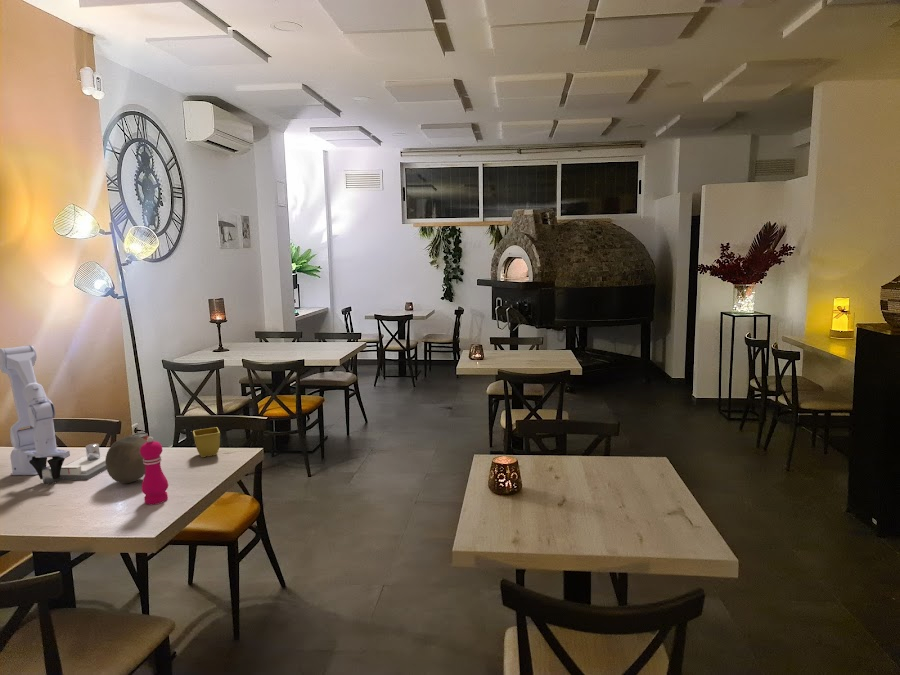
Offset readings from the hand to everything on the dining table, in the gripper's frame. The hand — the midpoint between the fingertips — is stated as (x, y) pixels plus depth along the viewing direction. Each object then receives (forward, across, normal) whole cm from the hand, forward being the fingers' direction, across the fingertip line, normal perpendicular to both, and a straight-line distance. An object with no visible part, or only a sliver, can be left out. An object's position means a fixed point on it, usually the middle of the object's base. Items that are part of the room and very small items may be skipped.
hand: (50, 478), depth 197 cm
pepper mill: (+2, +45, -14) cm, 47 cm away
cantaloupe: (+2, +28, +1) cm, 28 cm away
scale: (+1, +4, +11) cm, 12 cm away
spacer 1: (+1, 0, 0) cm, 1 cm away
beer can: (+2, +24, +13) cm, 27 cm away
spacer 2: (-1, +4, +16) cm, 17 cm away
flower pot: (+2, +41, +27) cm, 49 cm away
